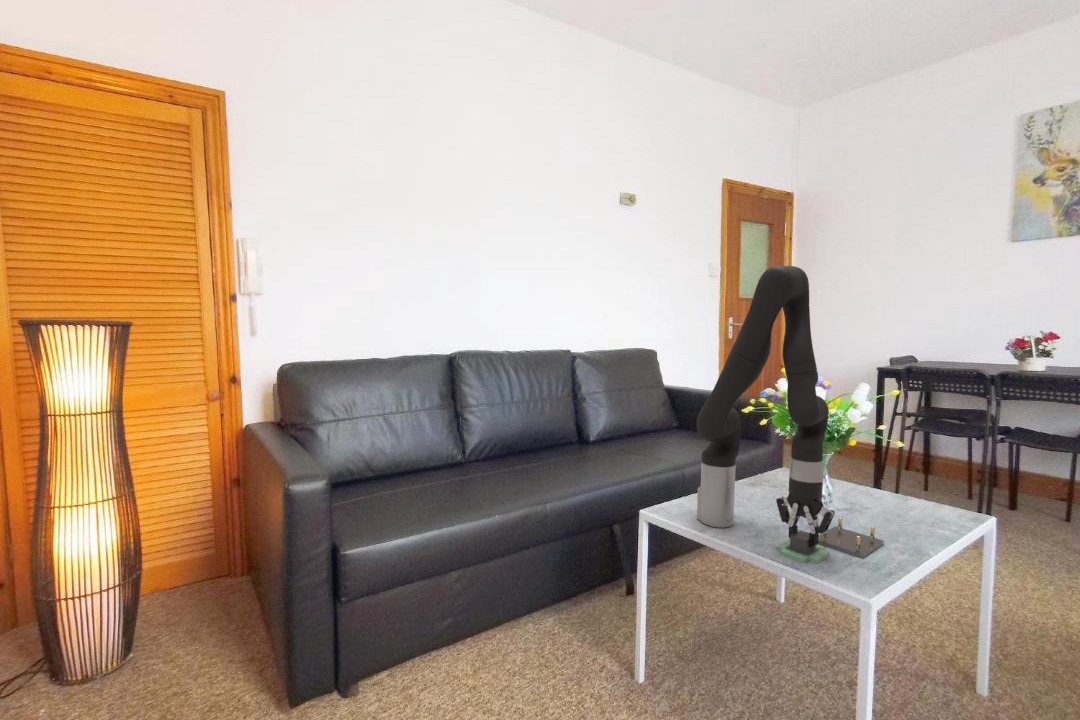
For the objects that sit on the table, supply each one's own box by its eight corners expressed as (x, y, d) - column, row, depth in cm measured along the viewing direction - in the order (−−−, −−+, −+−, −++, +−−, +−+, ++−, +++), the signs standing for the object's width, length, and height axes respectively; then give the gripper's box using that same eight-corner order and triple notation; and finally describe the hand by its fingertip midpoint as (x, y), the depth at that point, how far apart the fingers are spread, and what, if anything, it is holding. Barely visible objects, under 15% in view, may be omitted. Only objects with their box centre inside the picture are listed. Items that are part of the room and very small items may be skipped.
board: (771, 552, 137) (772, 534, 137) (793, 541, 144) (794, 523, 144) (812, 567, 130) (813, 547, 129) (833, 554, 136) (833, 535, 136)
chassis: (812, 542, 143) (813, 525, 142) (834, 529, 151) (835, 513, 150) (862, 558, 133) (864, 540, 133) (883, 544, 142) (884, 527, 141)
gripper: (770, 472, 138) (767, 538, 140) (828, 486, 127) (825, 558, 129) (785, 467, 143) (782, 531, 144) (842, 480, 132) (839, 549, 133)
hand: (802, 543), depth 137 cm, fingers closed on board, 4 cm apart
